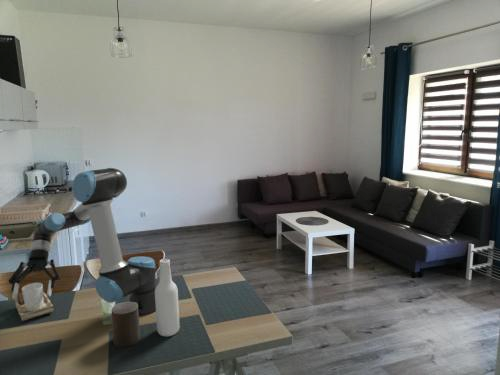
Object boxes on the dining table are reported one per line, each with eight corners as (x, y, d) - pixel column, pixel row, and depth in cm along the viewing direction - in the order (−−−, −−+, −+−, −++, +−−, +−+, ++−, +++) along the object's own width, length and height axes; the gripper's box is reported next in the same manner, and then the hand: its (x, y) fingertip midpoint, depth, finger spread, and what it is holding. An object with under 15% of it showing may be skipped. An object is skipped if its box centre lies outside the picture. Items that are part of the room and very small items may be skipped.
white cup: (35, 313, 155) (33, 291, 153) (20, 311, 156) (17, 289, 155) (49, 304, 162) (46, 283, 161) (34, 302, 164) (31, 281, 162)
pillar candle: (125, 350, 134) (122, 313, 131) (108, 342, 139) (105, 306, 136) (145, 337, 142) (143, 302, 139) (128, 330, 147) (126, 295, 144)
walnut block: (31, 302, 165) (30, 293, 164) (21, 305, 162) (20, 297, 161) (28, 299, 167) (27, 291, 166) (18, 302, 164) (17, 294, 163)
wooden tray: (54, 314, 160) (53, 305, 159) (22, 324, 152) (21, 315, 151) (45, 299, 173) (44, 291, 172) (15, 307, 166) (14, 299, 165)
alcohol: (174, 338, 141) (170, 265, 135) (153, 336, 142) (148, 264, 137) (182, 325, 149) (179, 256, 144) (162, 324, 151) (158, 255, 146)
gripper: (70, 253, 173) (65, 296, 162) (13, 257, 168) (2, 303, 157) (66, 246, 167) (60, 291, 156) (6, 250, 162) (-5, 297, 150)
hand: (31, 297), depth 156 cm, fingers open, 13 cm apart
